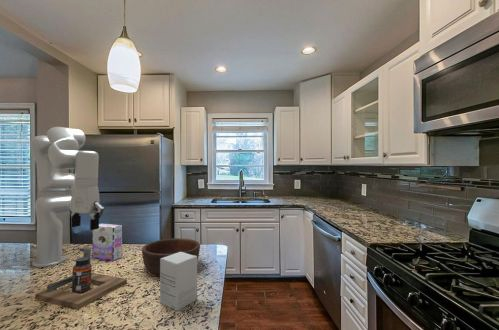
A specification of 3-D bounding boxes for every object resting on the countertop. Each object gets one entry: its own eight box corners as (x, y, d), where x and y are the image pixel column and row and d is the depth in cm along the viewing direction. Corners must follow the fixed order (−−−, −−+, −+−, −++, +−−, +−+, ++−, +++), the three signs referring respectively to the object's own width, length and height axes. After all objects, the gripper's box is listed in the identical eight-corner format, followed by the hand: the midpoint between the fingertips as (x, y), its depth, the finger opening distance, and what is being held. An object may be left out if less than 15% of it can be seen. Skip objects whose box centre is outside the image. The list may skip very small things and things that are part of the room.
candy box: (122, 257, 129) (123, 224, 129) (112, 261, 124) (113, 227, 124) (101, 254, 134) (102, 222, 134) (91, 258, 128) (91, 225, 128)
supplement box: (180, 292, 93) (180, 250, 94) (197, 299, 88) (198, 255, 89) (158, 303, 86) (159, 257, 86) (176, 311, 81) (177, 263, 81)
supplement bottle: (81, 294, 91) (82, 262, 92) (67, 292, 93) (68, 261, 93) (95, 287, 97) (95, 256, 97) (81, 285, 98) (82, 255, 99)
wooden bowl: (135, 282, 102) (136, 256, 102) (147, 260, 126) (147, 239, 126) (200, 277, 107) (200, 252, 107) (199, 257, 131) (199, 236, 131)
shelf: (32, 297, 89) (32, 262, 89) (85, 275, 108) (86, 246, 108) (77, 309, 82) (78, 271, 82) (126, 283, 101) (127, 252, 101)
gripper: (60, 182, 98) (59, 227, 98) (94, 185, 92) (92, 232, 92) (79, 181, 105) (78, 223, 105) (111, 183, 99) (110, 228, 99)
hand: (85, 227), depth 99 cm, fingers open, 9 cm apart
